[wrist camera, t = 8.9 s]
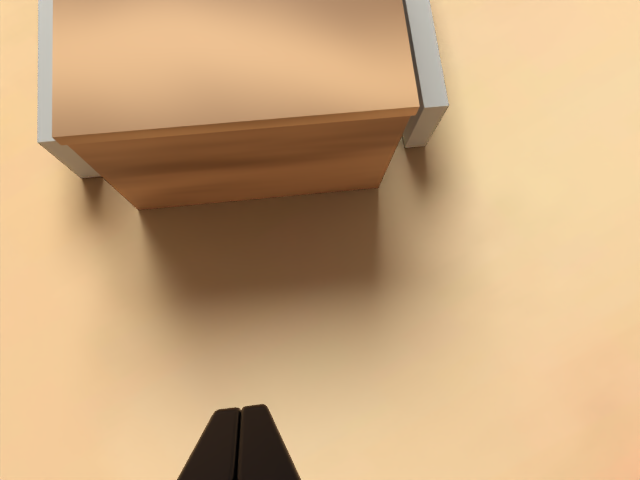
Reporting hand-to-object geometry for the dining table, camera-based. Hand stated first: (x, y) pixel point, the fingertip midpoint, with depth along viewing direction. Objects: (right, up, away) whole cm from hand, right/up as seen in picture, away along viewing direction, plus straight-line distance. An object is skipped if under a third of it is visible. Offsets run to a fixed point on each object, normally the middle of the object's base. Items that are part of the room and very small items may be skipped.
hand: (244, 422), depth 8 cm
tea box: (-2, +10, +16) cm, 19 cm away
